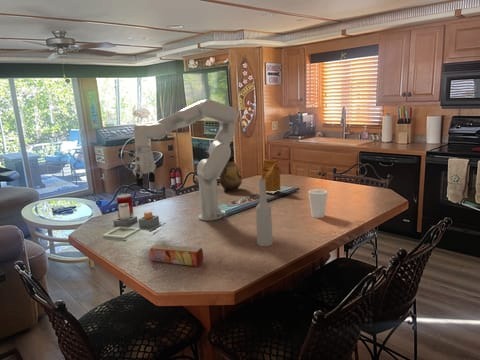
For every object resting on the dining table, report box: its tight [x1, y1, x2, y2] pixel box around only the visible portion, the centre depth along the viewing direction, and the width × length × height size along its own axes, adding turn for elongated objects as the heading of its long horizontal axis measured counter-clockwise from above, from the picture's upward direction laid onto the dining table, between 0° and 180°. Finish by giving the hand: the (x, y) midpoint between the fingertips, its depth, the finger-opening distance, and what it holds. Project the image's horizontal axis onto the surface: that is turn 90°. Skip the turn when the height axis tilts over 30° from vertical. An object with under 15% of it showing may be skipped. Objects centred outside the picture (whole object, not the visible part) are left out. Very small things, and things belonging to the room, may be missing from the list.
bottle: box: [255, 178, 273, 247], centre depth 151 cm, size 7×7×28 cm
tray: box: [102, 226, 141, 243], centre depth 172 cm, size 12×12×2 cm
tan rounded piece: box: [143, 211, 153, 219], centre depth 180 cm, size 4×4×4 cm
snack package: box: [149, 243, 204, 268], centre depth 140 cm, size 21×7×7 cm, turn 70°
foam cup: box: [308, 188, 328, 219], centre depth 185 cm, size 10×9×13 cm
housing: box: [112, 214, 163, 233], centre depth 184 cm, size 23×10×6 cm, turn 69°
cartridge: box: [117, 203, 131, 221], centre depth 186 cm, size 5×5×10 cm
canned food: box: [116, 193, 134, 213], centre depth 207 cm, size 8×8×11 cm
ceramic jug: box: [219, 146, 243, 192], centre depth 249 cm, size 17×15×30 cm
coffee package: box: [260, 158, 281, 191], centre depth 238 cm, size 10×12×22 cm
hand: (146, 183), depth 179 cm, fingers open, 9 cm apart
